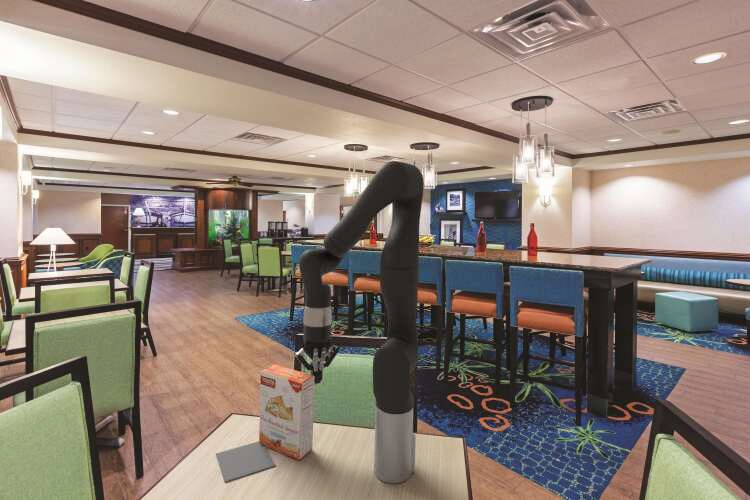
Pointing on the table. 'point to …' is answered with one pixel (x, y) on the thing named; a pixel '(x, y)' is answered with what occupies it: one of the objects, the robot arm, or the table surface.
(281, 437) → the cracker box
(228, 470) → the mat
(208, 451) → the table surface
